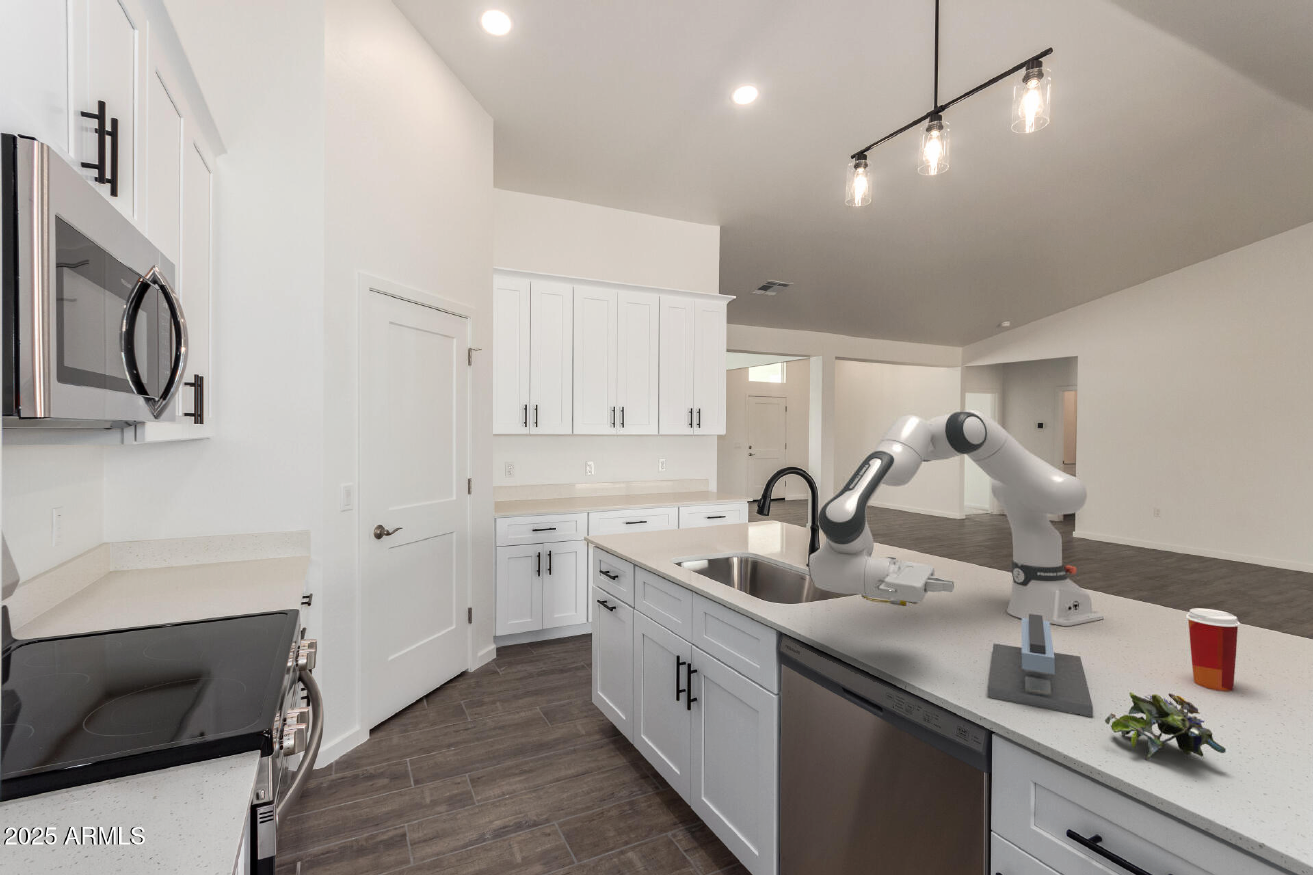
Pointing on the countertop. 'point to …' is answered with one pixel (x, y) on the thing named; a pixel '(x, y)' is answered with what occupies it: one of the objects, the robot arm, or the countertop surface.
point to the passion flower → (1165, 724)
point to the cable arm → (1037, 645)
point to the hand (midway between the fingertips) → (953, 586)
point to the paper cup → (1213, 647)
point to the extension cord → (892, 601)
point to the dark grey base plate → (1039, 682)
